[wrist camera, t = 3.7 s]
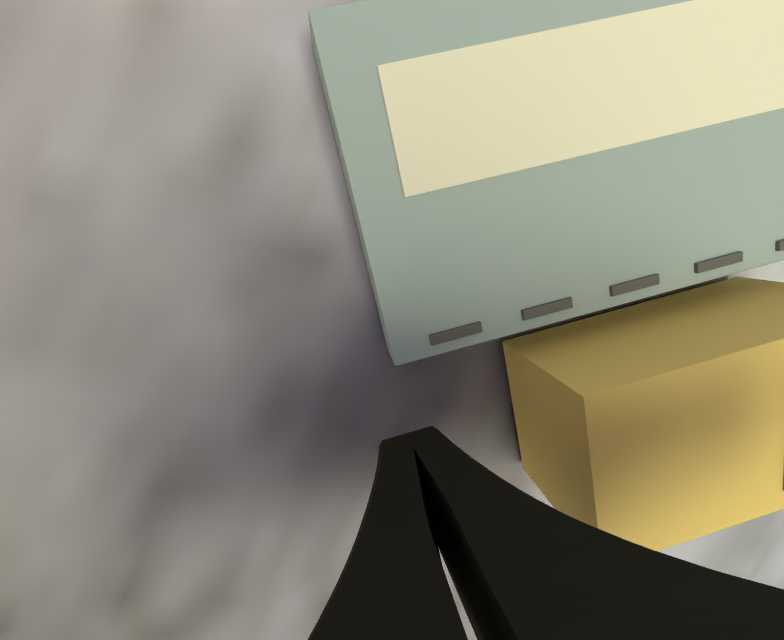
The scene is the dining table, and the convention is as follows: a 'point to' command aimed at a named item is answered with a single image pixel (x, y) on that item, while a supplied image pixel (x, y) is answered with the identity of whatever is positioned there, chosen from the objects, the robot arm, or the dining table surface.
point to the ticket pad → (551, 154)
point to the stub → (658, 412)
